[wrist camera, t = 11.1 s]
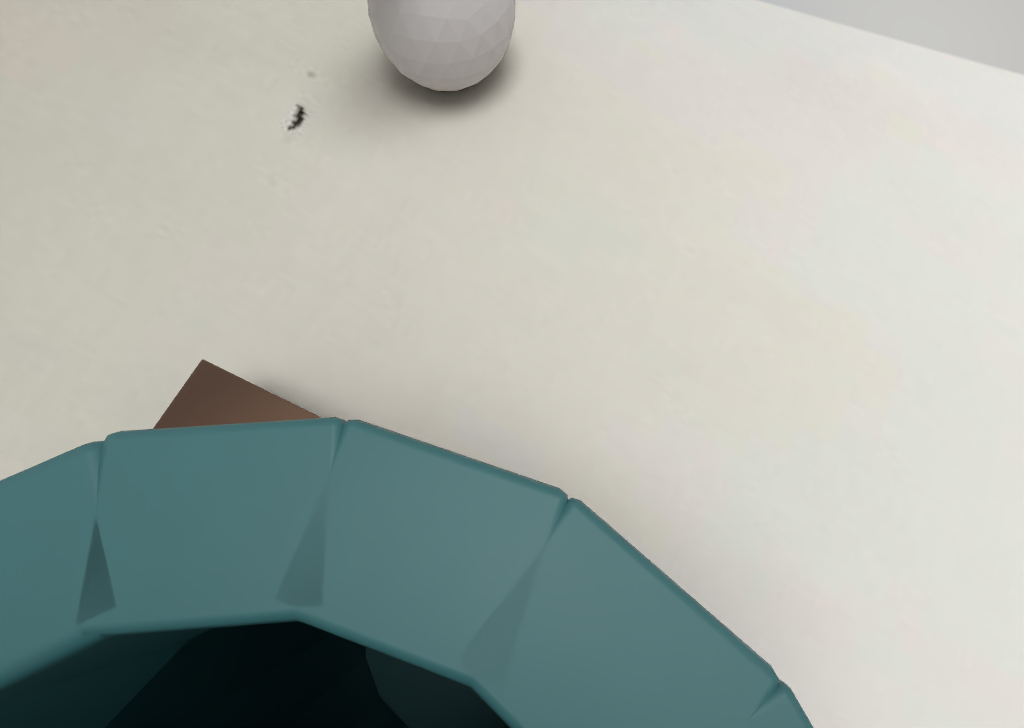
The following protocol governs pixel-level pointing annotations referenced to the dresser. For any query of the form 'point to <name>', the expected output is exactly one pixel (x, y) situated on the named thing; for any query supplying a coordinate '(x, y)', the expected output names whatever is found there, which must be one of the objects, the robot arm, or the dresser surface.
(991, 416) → the dresser surface
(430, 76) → the perfume bottle
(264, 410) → the brown wooden pedestal
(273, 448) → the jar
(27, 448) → the dresser surface
